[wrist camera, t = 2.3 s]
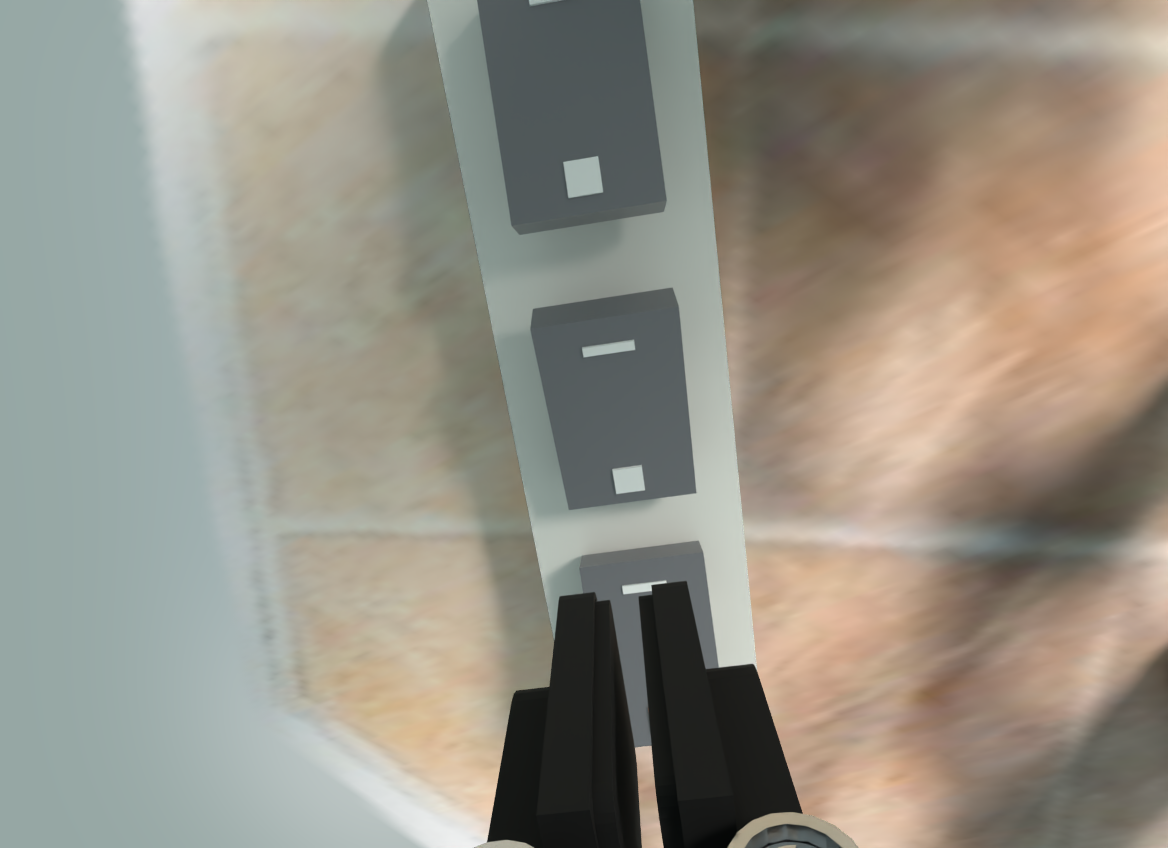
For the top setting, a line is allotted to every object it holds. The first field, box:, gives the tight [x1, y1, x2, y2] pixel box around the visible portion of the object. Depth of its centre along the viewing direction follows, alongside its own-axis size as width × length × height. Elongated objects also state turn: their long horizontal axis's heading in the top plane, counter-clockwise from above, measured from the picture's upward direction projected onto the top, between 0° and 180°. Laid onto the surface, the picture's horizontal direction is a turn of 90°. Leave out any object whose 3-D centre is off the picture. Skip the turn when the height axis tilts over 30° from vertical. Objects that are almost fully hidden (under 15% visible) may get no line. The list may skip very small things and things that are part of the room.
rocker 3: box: [579, 541, 719, 747], centre depth 27 cm, size 7×4×2 cm, turn 9°
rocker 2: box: [530, 287, 696, 510], centre depth 24 cm, size 7×4×2 cm, turn 9°
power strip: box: [427, 0, 757, 670], centre depth 26 cm, size 36×8×4 cm, turn 9°
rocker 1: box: [477, 0, 667, 235], centre depth 21 cm, size 7×4×2 cm, turn 9°
